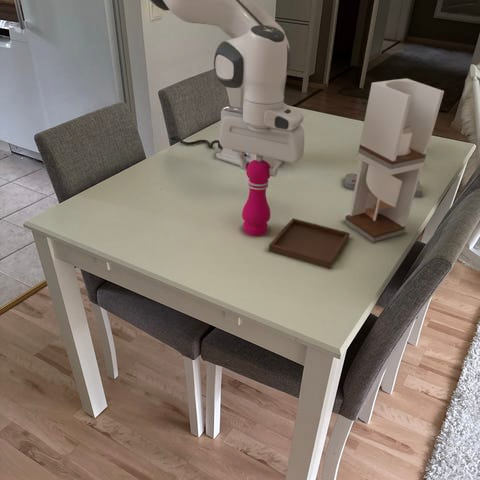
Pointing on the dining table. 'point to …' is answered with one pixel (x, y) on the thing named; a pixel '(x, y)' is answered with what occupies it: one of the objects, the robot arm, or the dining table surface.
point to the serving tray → (309, 243)
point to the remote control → (351, 178)
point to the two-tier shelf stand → (392, 155)
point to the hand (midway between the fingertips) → (258, 172)
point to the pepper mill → (257, 198)
